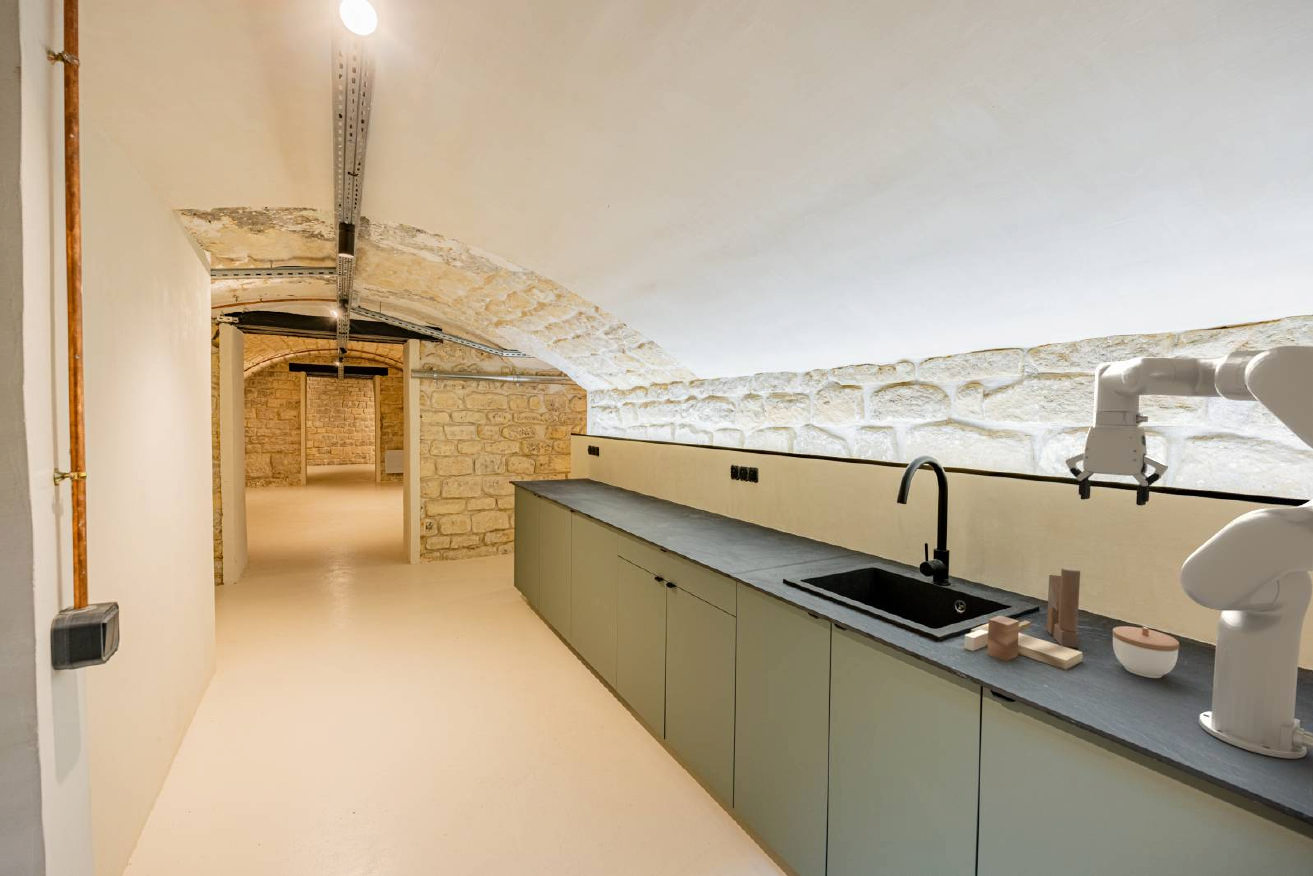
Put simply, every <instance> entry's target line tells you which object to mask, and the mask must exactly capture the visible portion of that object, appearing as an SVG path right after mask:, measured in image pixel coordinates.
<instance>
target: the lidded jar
mask: <svg viewBox="0 0 1313 876" xmlns="http://www.w3.org/2000/svg"><path fill="white" fill-rule="evenodd" d="M1112 647H1113V653H1114V654H1115V657H1116V659H1117V660H1118V662H1119V663H1120V664H1121V665H1122V666H1124V669H1125V670H1126V671H1128V672H1129V673H1131V674H1134V675H1137V676H1140V677H1144V678H1150V679H1161V678H1163V676H1165V675H1166V674H1168V673H1170V672H1171V671H1173V669H1174V668H1175V667H1176V664H1177V661H1178V656H1179V648H1180V642H1179V641H1178V640H1177V639H1176V638H1174V636H1173V637H1172V636H1171V635H1168V634H1167V633H1166V634H1165V633H1162V632H1159V631H1156V630H1152V629H1149V628H1148V627H1146V626H1144V627H1143V626H1142V627H1135V626H1126V625H1125V626H1116V627H1113V628H1112Z"/></svg>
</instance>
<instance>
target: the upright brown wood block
mask: <svg viewBox="0 0 1313 876" xmlns="http://www.w3.org/2000/svg"><path fill="white" fill-rule="evenodd" d="M988 623H989V628H988V645H987V649H986V650H987V653H986V654H987V656H990V657H993V658H996V659H999V660H1002V661H1004V662H1008V661H1011V660H1013V659H1014V658H1017V657H1018V655H1019V654H1018V634H1019V633H1021V632H1022V631H1025V630H1026V629H1030V628H1032V627H1031V626H1032V621H1028V620H1023V621H1020V620H1017V619H1014V618H1011V617H1007V616H1004V615H997V616H995V617H992V618H989V619H988Z"/></svg>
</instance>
